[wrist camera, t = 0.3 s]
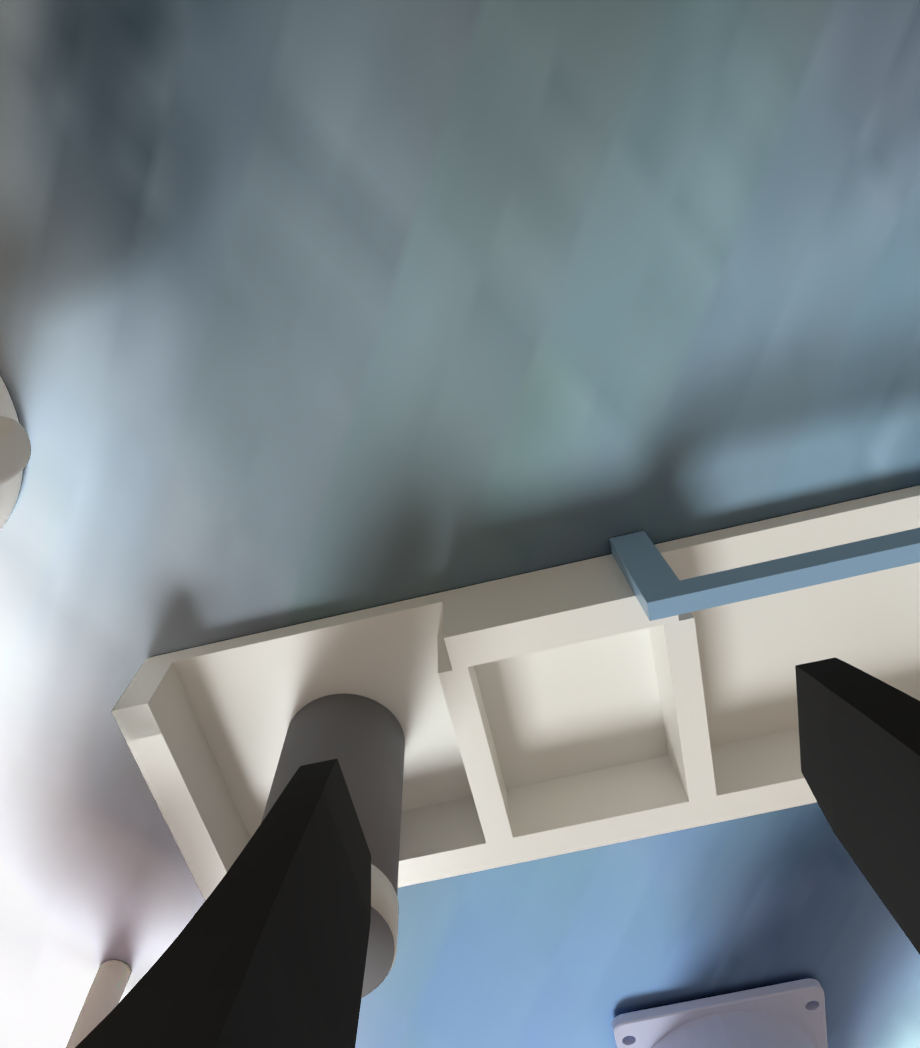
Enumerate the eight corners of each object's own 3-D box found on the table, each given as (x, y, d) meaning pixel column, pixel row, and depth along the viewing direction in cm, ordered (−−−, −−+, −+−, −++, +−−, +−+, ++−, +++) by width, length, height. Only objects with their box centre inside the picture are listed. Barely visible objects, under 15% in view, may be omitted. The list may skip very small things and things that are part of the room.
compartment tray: (956, 707, 23) (1053, 793, 20) (237, 856, 25) (204, 964, 21) (964, 458, 20) (1079, 508, 17) (140, 643, 22) (81, 727, 18)
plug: (419, 777, 23) (415, 993, 16) (305, 801, 23) (256, 1023, 17) (388, 680, 22) (370, 873, 15) (268, 707, 22) (199, 908, 15)
